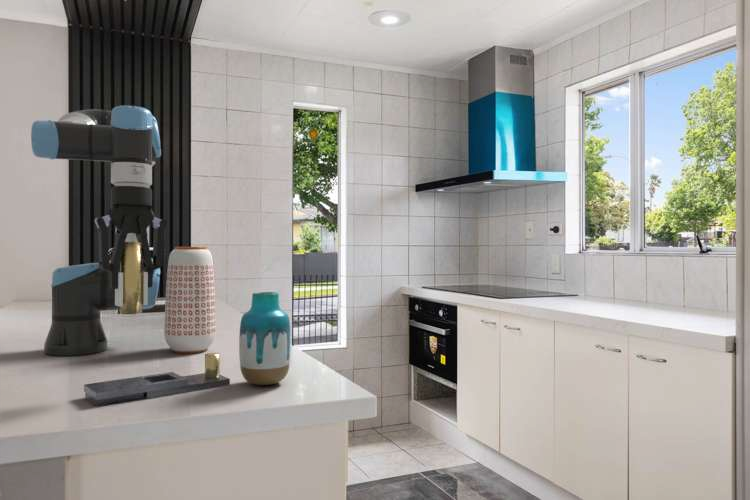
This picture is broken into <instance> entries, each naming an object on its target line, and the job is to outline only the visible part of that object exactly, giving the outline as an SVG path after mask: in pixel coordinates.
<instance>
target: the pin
mask: <svg viewBox="0 0 750 500" xmlns="http://www.w3.org/2000/svg"><path fill="white" fill-rule="evenodd" d="M120 272H123V306H120V310H119V314H120V315H137V314H142V313H143V309H142V242H125V244H124V249H123V253H122V258H121V263H120Z"/></svg>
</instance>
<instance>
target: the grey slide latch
mask: <svg viewBox="0 0 750 500" xmlns="http://www.w3.org/2000/svg"><path fill="white" fill-rule="evenodd" d="M220 355H221V354H220V353H219V352H208V353H205V354H204V373H197V374H189V375H183V376H182V375H180V374H179V373H176V372H174V371H170V372H162V373H156V374H149V375H143V376H142V375H141V376H135V377H129V378H119V379H113V380H107V381H100V382H93V383H86V384H83V391H84V393H85V395H84V397H85V400H86V401H88V402H89V403H90V404H92V405H93V406H95V407H96V406H100V405H101V406H102V405H108V404H113V403H120V402H125V401H126V402H127V401H130V400H131V401H132V400H137V399H144V398H145V399H152V398H153V399H154V398H159V397H163V396H170V395H175V394H176V395H177V394H182V393H189V392H195V391H200V390H206V389H212V388H218V387H224V386H229V385H231V384H230V383H231V379H230V378H229V377H226V376H224V375H222V374H221V373H220V369H221V361H220V360H221V359H220V358H221V356H220Z"/></svg>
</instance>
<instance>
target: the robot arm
mask: <svg viewBox="0 0 750 500" xmlns="http://www.w3.org/2000/svg"><path fill="white" fill-rule="evenodd" d="M30 133H31V134H30V138H31V139H30V140H31V143H30V144H31V151H32V154H33V155H34V156H35V157H37V158H41V159H49V160H73V161H75V160H76V161H78V160H79V161H92V162H107V163H111V164H110V184H112V185H113V186H112V187H111V188H110V209H109V211H108V212H107V214H106V215H104V216H102V217H95V218H94V220H93V223H94V225H95V227H96V230H97V243H98V244H97V245H98V246H97V247H98V249H97V250H98V262H90V263H84V264H75V265H74V264H73V265H67V266H62V267H58V268H56V269H54V271H53V272H52V275H51V278H52V279H51V285H50V287H51V325H50V328H49V331H48V333H47V336H46V338H45V342H44V345H43V353H44V354H45V355H47V356H49V355H50V356H59V357H60V356H81V355H82V356H84V355H89V354H96V353H101V352H104V351H106V350H108V339H107V336H106V333H105V330H104V327H103V324H102V322H101V321H102V320H101V312H103V311H120V306H123V272H120V263H121V258H122V253H123V249H124V244H125V242H142V310H148V309H152V308H153V307H155V305H156V303H157V298H158V294H159V293H158V292H159V287H160V280H161V279H160V276H161V268H162V267H163V258H164V237H165V236H164V235H165V230H166V227H167V225H168V221H167V220H166V219H161V218H159V217H156V216H155V213H154V211H153V190H152V188H151V187H150V186H152V185H153V166H154V165H156V158H157V159H158V158H160V157H161V156H162V149H161V138H160V137H161V136H160V131H159V126H158V121H157V119H156V117H155V116H154V115H153V114H152V112H151V111H150V110H149V109H148V108H145V107H143V106H136V105H117V106H115V107H113V108H112V110H107V109H99V108H98V109H96V108H94V109H92V108H91V109H82V110H76V111H75V110H74V111H71V112H68V113H65V114H63V115H62V116H61V117H60V118H59V119H57V121H54V120H48V119H47V120H35V121H34V122H33V123H32V125H31V130H30ZM110 221H111V223H112V225H113V226H114V228H115V239H114V240H115V241H114V243H113V248H112V253H111V258H110V256H109V255H110V254H109V253H110V252H109V251H110V250H109V249H110V248H109V232H108V227H109V226H110ZM151 223H152V227H153V229H154V230H153V243H152V254H151V249H150V225H151Z"/></svg>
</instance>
